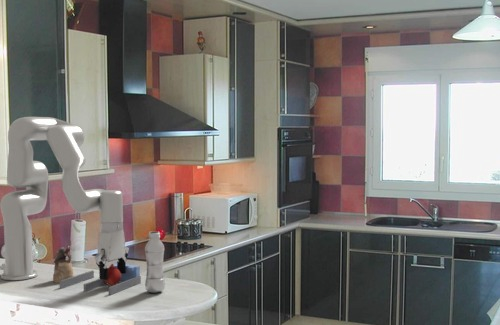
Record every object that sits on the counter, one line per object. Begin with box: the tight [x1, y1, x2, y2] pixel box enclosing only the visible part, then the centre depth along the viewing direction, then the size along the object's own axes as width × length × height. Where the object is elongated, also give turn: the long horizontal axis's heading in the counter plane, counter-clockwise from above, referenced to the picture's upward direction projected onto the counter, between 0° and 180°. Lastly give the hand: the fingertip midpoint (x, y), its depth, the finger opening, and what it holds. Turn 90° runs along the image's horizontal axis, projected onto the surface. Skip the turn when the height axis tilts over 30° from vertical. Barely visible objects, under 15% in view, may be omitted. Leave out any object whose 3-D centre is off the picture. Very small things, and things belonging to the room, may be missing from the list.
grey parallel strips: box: [59, 270, 142, 296], centre depth 211 cm, size 21×17×2 cm
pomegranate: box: [105, 263, 121, 287], centre depth 209 cm, size 6×6×8 cm
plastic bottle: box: [144, 231, 166, 294], centre depth 201 cm, size 6×7×20 cm
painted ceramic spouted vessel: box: [52, 246, 75, 284], centre depth 218 cm, size 7×7×12 cm
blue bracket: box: [113, 263, 141, 283], centre depth 214 cm, size 10×4×6 cm, turn 65°
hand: (112, 276), depth 208 cm, fingers open, 9 cm apart
